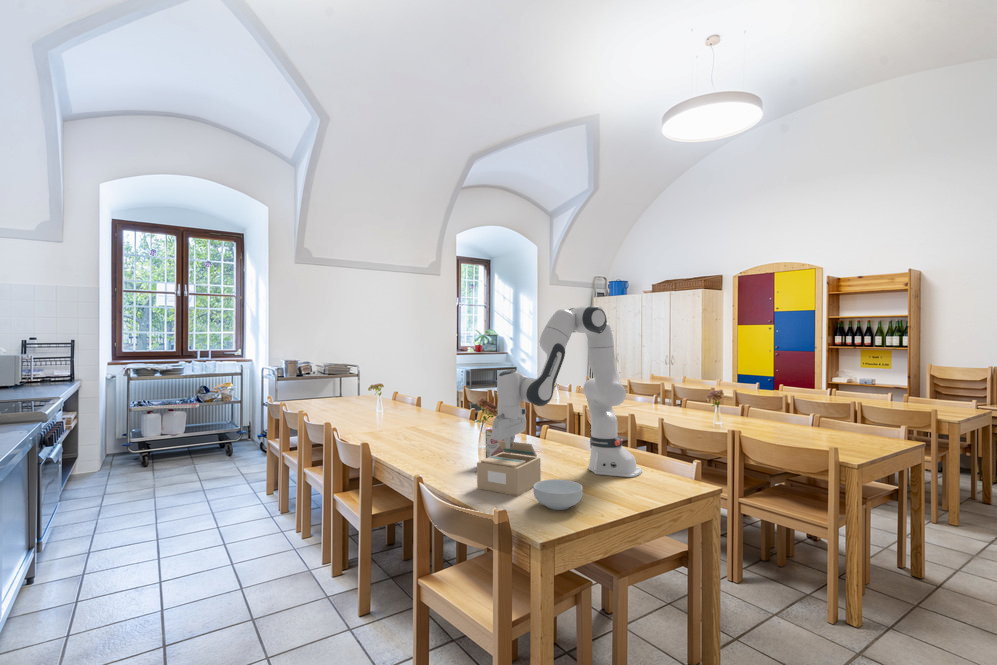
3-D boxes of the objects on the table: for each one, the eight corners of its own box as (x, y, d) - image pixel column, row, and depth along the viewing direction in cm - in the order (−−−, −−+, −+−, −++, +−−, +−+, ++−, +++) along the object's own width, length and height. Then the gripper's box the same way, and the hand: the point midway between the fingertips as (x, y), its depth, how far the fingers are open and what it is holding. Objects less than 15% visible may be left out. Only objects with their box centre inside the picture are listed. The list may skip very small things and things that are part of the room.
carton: (540, 483, 198) (540, 457, 198) (517, 496, 183) (517, 468, 183) (501, 476, 208) (501, 452, 208) (477, 488, 192) (476, 462, 192)
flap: (481, 461, 192) (481, 460, 192) (492, 457, 199) (492, 455, 199) (515, 467, 184) (515, 465, 184) (525, 462, 191) (525, 460, 191)
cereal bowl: (592, 505, 173) (592, 484, 173) (564, 519, 160) (564, 497, 160) (552, 494, 184) (551, 475, 184) (523, 507, 172) (523, 486, 171)
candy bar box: (485, 465, 224) (485, 429, 224) (486, 462, 229) (486, 427, 229) (510, 466, 223) (510, 429, 223) (511, 463, 228) (510, 427, 228)
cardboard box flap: (536, 457, 198) (537, 455, 199) (530, 445, 194) (531, 444, 195) (503, 452, 206) (504, 451, 207) (497, 441, 202) (498, 440, 203)
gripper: (501, 417, 185) (502, 454, 185) (528, 408, 202) (528, 443, 202) (487, 415, 188) (488, 452, 188) (514, 407, 205) (515, 441, 205)
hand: (509, 447), depth 195 cm, fingers closed
